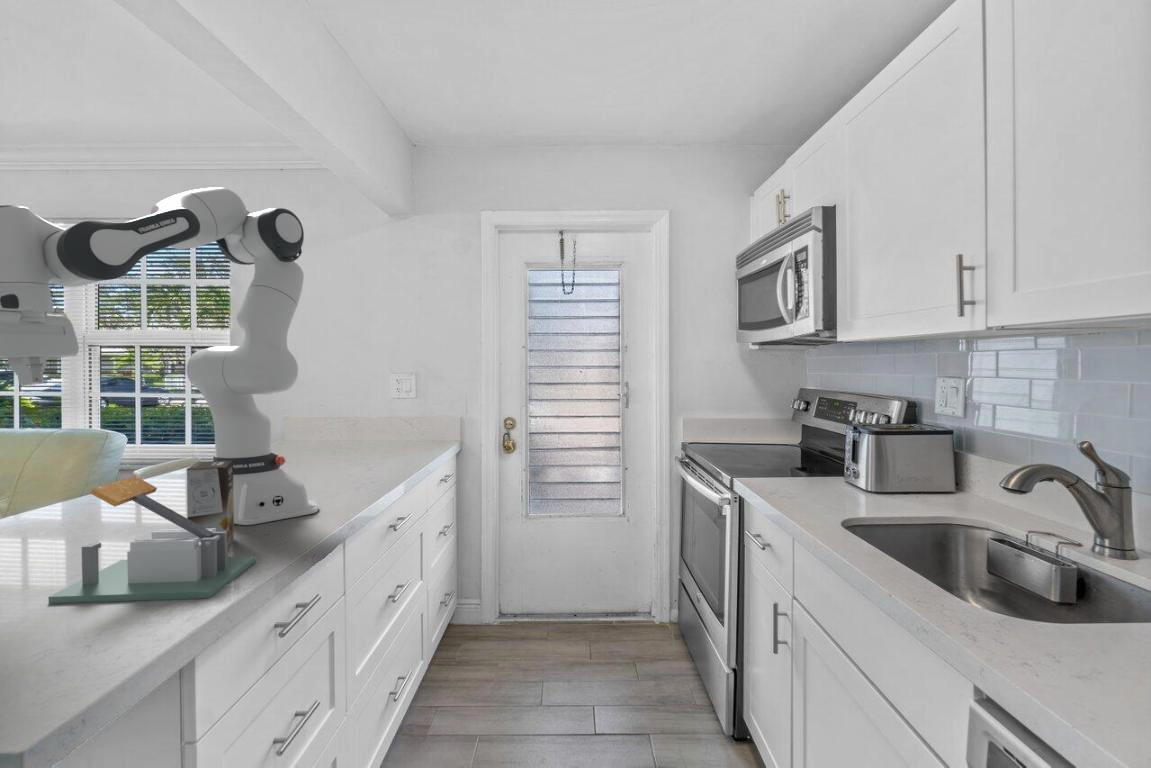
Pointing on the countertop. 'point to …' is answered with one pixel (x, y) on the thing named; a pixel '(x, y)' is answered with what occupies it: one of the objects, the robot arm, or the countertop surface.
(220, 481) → the coffee box
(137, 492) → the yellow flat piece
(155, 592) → the heatsink board
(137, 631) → the countertop surface
